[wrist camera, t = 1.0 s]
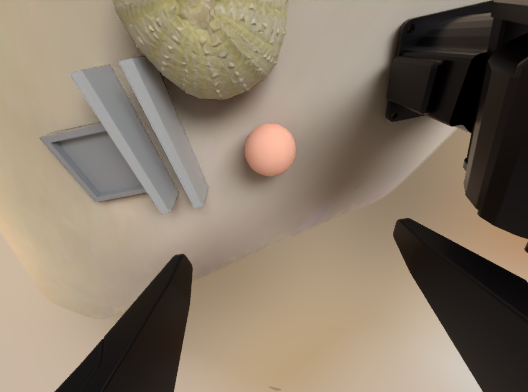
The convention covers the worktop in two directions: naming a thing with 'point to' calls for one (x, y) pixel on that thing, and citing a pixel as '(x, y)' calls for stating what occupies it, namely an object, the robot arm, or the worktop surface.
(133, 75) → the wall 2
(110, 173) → the coaster
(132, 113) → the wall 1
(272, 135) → the ball
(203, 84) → the sea urchin shell
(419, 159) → the worktop surface
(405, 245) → the robot arm
